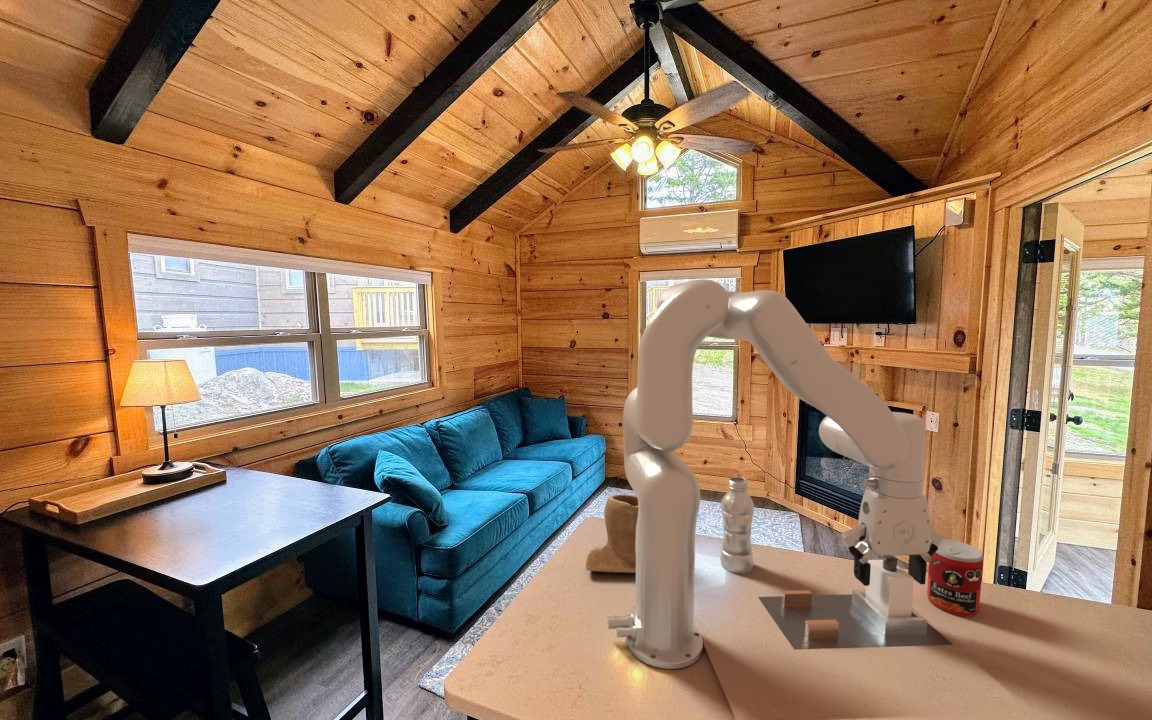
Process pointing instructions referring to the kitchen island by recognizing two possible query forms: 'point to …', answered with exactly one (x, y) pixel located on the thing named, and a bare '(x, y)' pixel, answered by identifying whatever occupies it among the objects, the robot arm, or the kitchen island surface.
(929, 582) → the canned food
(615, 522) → the tan suede boot
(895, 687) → the kitchen island surface
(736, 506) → the plastic bottle
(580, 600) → the kitchen island surface
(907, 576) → the plug
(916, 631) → the panel
